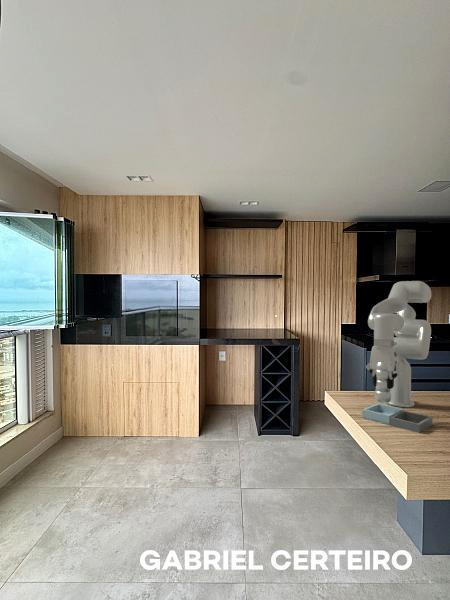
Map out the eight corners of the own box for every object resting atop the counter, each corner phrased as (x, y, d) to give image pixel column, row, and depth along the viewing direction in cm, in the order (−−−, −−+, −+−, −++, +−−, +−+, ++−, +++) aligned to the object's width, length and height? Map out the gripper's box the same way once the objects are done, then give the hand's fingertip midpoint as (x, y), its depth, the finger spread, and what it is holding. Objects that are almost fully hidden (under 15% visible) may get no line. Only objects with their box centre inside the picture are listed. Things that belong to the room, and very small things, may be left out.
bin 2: (403, 417, 148) (403, 410, 148) (432, 424, 139) (432, 416, 139) (389, 424, 138) (389, 417, 138) (419, 432, 130) (419, 424, 130)
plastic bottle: (390, 401, 149) (390, 353, 149) (392, 405, 143) (392, 355, 143) (373, 399, 151) (374, 352, 151) (375, 403, 145) (375, 354, 145)
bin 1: (377, 411, 156) (377, 403, 156) (403, 417, 148) (403, 409, 148) (362, 417, 146) (362, 409, 146) (389, 424, 138) (389, 416, 138)
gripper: (408, 345, 143) (408, 389, 143) (368, 341, 156) (367, 382, 156) (401, 346, 138) (400, 392, 138) (359, 342, 151) (359, 384, 151)
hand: (383, 386), depth 147 cm, fingers closed on plastic bottle, 5 cm apart
